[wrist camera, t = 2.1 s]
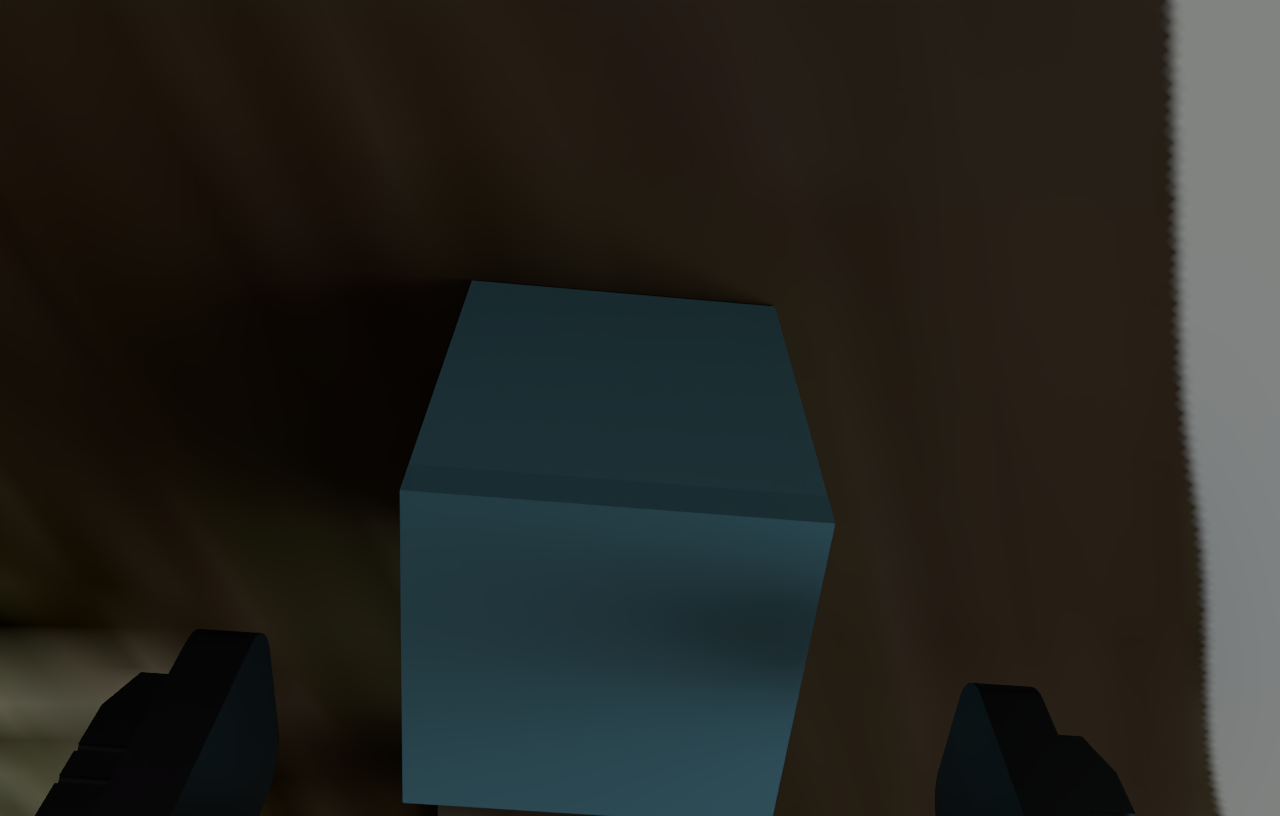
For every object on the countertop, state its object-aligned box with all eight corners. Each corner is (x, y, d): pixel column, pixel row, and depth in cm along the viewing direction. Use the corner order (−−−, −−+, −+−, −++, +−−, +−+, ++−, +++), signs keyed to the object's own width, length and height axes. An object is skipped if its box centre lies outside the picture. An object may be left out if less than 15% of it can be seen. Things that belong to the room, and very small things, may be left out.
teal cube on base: (734, 552, 22) (770, 825, 16) (465, 532, 21) (402, 803, 16) (774, 306, 19) (834, 523, 13) (472, 280, 19) (400, 490, 13)
